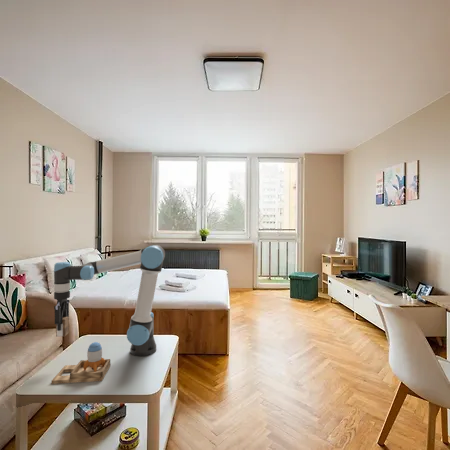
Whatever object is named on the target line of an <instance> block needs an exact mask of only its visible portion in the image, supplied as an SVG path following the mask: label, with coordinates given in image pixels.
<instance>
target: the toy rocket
mask: <svg viewBox="0 0 450 450" xmlns="http://www.w3.org/2000/svg"><path fill="white" fill-rule="evenodd" d="M86 353H87V359H86V360H87V361H86V362H85V363H84V370H86V369H87V367H88V366H90V367H91V368H92V370H94V372H97V368H98V366H99V365H100V364H101V365H102V366H103V367H104V365H105V360H104V359H105V358H104V357H103V347H102V345H101V344H100V342H97V341H94V342H92V343H91V344H90V345H89V346H88V348H87V352H86Z"/></svg>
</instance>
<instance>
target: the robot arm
mask: <svg viewBox="0 0 450 450" xmlns="http://www.w3.org/2000/svg"><path fill="white" fill-rule="evenodd" d="M165 257H166V251H165V248H164V247H162V246H161V245H160V244H152V245H149V246H147V247H143V248H141V249H140V250H138V251H135V252H130V253H126V254H121V255H117V256H113V257H112V256H111V257H108V258H104V259H99V260H96V261H95V260H94V261H90V262H87V263H85V264H82V265H71V262H69V261H60V262H59V261H58V262H55V264H54V265H53V266H54V267H53V269H54V270H53V282H54V283H53V289H54V290H53V299H54V300H56V305H54V306H53V307H54V308H53V310H54V325H56V324H57V336H59V337H64V336H63V324H62V318H63V317H69V318H70V312H69V311H70V297H71V291H70V290H71V281H79V280H80V281H81V280H82V281H88V280H92V279H93V278H94V276H95V275H98V274H102V273H106V272H111V271H116V270H120V269H124V268H128V267H129V268H130V267H132V266H133V267H134V266H138V265H140V267H139V269H140V271H141V277H140V283H139V288H138V294H137V298H136V304H135V310H134V314H133V315H132V316H131V318H130V323H129V327H128V329H127V331H126V339H127V341H128V342H129V343H130V344H131V346H130V348H129V349H130V350H129V351H130V355H132V356H135V357H145V356H149V355H152V354H154V353H156V351H157V344H156V341H155V338H154V329H155V328H154V325H155V324H154V318H155V317H154V312H152V310H153V303H154V297H155V291H156V286H157V281H158V275H159V274H160V273H161V272H162V270H163V269H162V267H163V263H164V260H165Z"/></svg>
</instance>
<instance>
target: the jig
mask: <svg viewBox="0 0 450 450" xmlns="http://www.w3.org/2000/svg"><path fill="white" fill-rule="evenodd" d="M87 360H88V359H85V360H83V359H81V360H80V361H79V362H78V363H77V364H69V365H68V364H67V365H64V366H63V367H62V368H61V370H59V372H58V373H57V374H56V375H55V376H54V377H53V378H52V379H51V385H52V384H53V385H55V384H57V385H58V384H71V383H72V384H73V383H89V382H93V383H94V382H102V381H103V380H104V378H106V377H105V376H106V375H107V373H108V371H109V369H110V367H111V364H112V363H111V358H104V360H105V365H104V367H103V366H102V365H101V364H100V365H99V366H98V368H97V372H94V370H92V368H91V367H90V366H88V367H87V369H86V370H84V363H85V362H86V361H87ZM64 373H69V374H68V375H63V374H64Z"/></svg>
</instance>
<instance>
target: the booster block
mask: <svg viewBox="0 0 450 450" xmlns="http://www.w3.org/2000/svg"><path fill="white" fill-rule="evenodd" d="M69 321H70V316H69V317H63V318H62V324H63V336H62V337H66V336H67V335H68V334H69V329H70V328H69V324H70V323H69ZM55 332H56V333H55V337H56V338H57V337H60V336H57V324H55Z"/></svg>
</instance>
